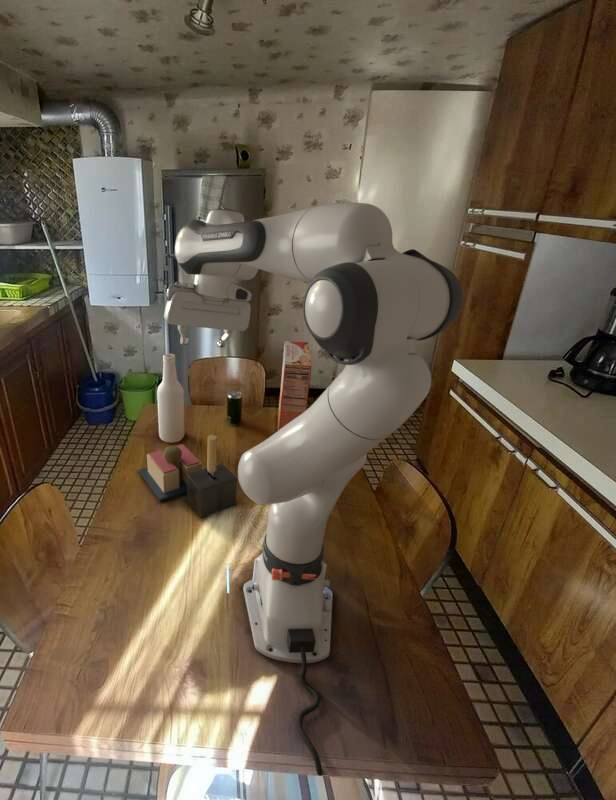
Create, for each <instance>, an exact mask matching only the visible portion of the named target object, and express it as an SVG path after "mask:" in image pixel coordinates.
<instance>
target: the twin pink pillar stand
mask: <svg viewBox="0 0 616 800" xmlns="http://www.w3.org/2000/svg"><path fill="white" fill-rule="evenodd" d="M175 446H176V447H179V448H180V449H181V452H182V456H181V458H180V463H181V470H182V481H181V482H180V483H179V470H178V469H177V468H176V467H175V465H173V464H170V463H167V462H166V459H165V458H164V450H162V449H159V450H157V451H153V452H149V453H147V454H146V465H147V467H144V468H141V469H138V473H139V474H140V476H141V477H142V479H143V480H144V482H146V484H147V485H148V487H149V488H150V490H151V491H152V493H153V494H154V495H155V497H156V498H157V500H158V501H159V502H160V503H162V502H165V501H168V500H171V499H174V498H177V497H180V496H182V495H187V474H189V473H192V472H195V471H199V470H202V469H203V467H202V465H203V463H202V462H201V461H200V460H199V459H198V458H197V457H196V456H195V455H194V454H193V453H192V452H191V451H190V449H188V448H187V446H186V445H185V444H183V443H181V444H177V445H175Z"/></svg>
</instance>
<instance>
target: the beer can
mask: <svg viewBox="0 0 616 800" xmlns="http://www.w3.org/2000/svg"><path fill="white" fill-rule="evenodd" d="M226 395H227V396H226V397H227V398H226V423H227V424H228V425H229V426H239V425H240V424H241V422H242V412H243V411H242V410H243V409H242V408H243V393H242V391H240V390H237V389H233V390H229V391H228V392H227V394H226Z"/></svg>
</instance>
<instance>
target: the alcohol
mask: <svg viewBox="0 0 616 800" xmlns="http://www.w3.org/2000/svg"><path fill="white" fill-rule="evenodd" d="M162 358H163V359H162V364H163V365H162V381H161V383H160V384H159V385H158V386H157V390H156V398H157V399H156V400H157V421H158V437H159V438H160V440H161V441H163V442H164V443H169V444H173V443H178V442H180V441H182V440H183V438H184V437H185V394H184V393H185V391H184V388H183V385H182V384H181V383H180V381H179V380H178V375H177V366H176V355H175V354H174V353H165V354H164V355H162Z"/></svg>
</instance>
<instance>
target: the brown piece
mask: <svg viewBox="0 0 616 800" xmlns="http://www.w3.org/2000/svg"><path fill="white" fill-rule="evenodd" d="M176 446H177V445H169V446H167V447H166V448H164V450H163V453H164V458H165V459H166V462H167V463H170V464H173V465H175V467H176V468H177V469H178V470H179V483H180V482H181V481H182V470H181V463H180V458H181V456H182V452H181V449H180V448H179V447H176Z"/></svg>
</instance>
